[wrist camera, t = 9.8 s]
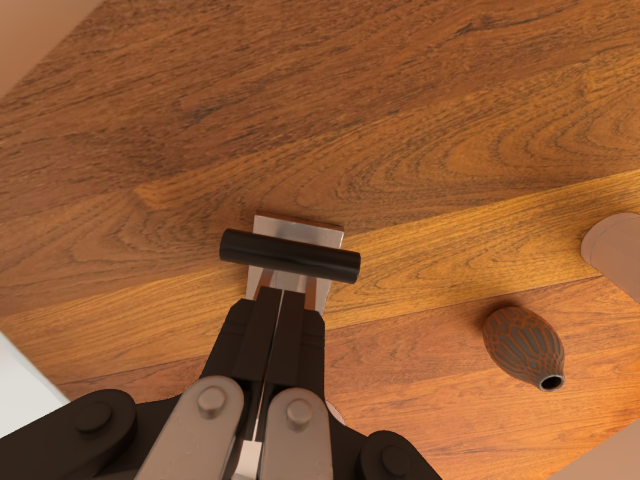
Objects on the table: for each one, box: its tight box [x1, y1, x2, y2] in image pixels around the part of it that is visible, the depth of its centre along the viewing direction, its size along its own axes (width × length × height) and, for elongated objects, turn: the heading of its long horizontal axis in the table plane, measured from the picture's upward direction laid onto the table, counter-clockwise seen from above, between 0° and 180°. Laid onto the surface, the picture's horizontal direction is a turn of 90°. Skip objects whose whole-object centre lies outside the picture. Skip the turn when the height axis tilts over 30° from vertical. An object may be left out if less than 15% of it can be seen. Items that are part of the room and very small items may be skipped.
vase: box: [483, 307, 565, 392], centre depth 33 cm, size 7×7×9 cm
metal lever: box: [219, 228, 361, 365], centre depth 19 cm, size 14×6×2 cm, turn 169°
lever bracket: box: [245, 211, 344, 316], centre depth 28 cm, size 11×9×14 cm
